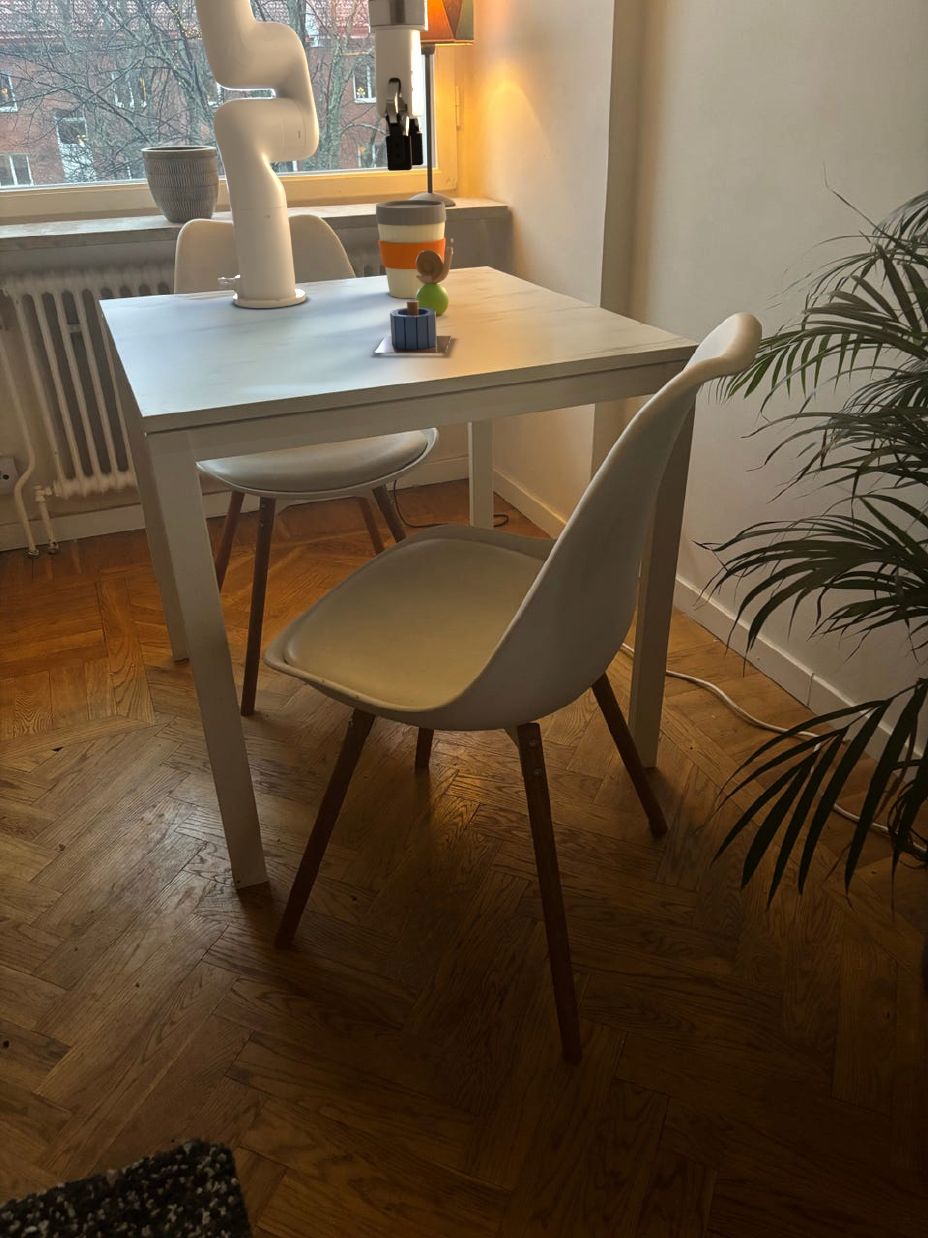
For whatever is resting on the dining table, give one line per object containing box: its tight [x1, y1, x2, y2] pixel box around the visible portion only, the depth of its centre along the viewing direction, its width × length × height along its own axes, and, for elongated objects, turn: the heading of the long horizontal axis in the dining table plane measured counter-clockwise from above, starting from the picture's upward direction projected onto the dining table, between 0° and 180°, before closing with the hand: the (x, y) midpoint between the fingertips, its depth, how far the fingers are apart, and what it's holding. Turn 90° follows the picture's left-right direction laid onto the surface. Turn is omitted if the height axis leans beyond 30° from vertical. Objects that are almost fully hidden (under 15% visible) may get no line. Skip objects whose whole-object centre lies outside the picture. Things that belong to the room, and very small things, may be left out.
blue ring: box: [389, 307, 438, 349], centre depth 134 cm, size 6×6×4 cm
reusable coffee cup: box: [375, 199, 448, 299], centre depth 167 cm, size 13×13×15 cm
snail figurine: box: [414, 238, 454, 317], centre depth 150 cm, size 5×6×12 cm
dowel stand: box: [374, 299, 453, 354], centre depth 134 cm, size 10×10×7 cm
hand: (406, 167), depth 127 cm, fingers open, 9 cm apart
